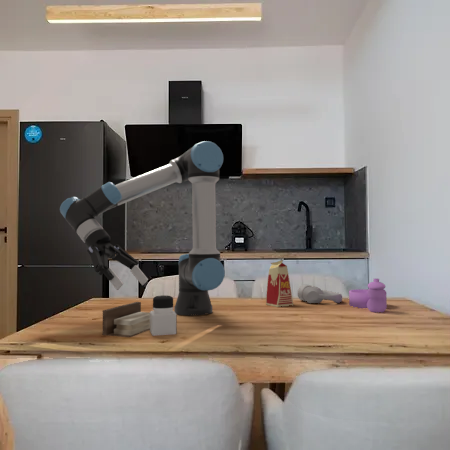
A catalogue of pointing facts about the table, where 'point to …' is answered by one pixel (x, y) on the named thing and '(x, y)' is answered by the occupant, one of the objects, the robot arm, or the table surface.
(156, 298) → the medicine bottle
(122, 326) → the offcut stack
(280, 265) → the milk carton
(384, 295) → the container set
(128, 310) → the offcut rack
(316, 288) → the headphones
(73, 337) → the table surface
